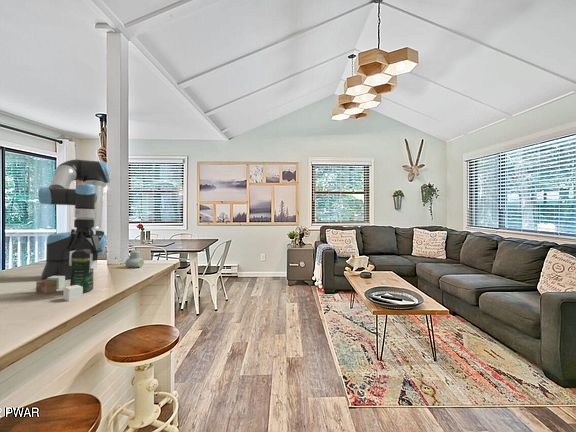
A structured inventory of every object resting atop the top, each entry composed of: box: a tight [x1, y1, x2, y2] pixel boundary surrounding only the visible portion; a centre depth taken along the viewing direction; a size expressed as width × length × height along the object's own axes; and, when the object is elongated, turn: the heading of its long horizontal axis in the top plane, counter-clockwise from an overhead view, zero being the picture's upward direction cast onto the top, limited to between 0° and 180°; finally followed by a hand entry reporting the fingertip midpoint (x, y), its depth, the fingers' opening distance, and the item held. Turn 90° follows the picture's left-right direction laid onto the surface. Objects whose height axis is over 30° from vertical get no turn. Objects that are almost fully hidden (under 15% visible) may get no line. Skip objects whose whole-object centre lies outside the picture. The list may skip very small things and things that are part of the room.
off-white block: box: [62, 285, 84, 302], centre depth 134 cm, size 5×5×5 cm
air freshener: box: [124, 250, 145, 269], centre depth 209 cm, size 11×8×10 cm
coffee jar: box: [69, 249, 94, 293], centre depth 147 cm, size 10×8×19 cm
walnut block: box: [35, 279, 57, 295], centre depth 143 cm, size 5×5×5 cm
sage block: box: [47, 276, 66, 290], centre depth 151 cm, size 5×5×5 cm
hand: (82, 266), depth 147 cm, fingers open, 13 cm apart
